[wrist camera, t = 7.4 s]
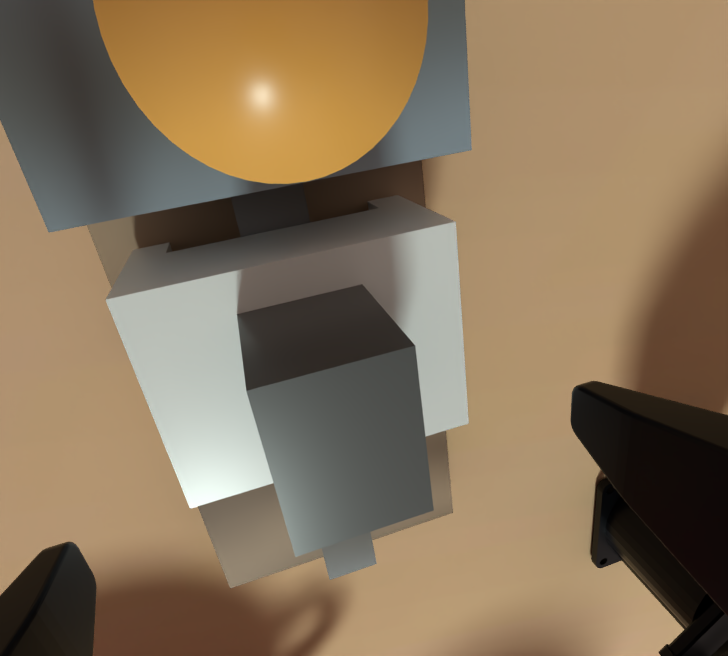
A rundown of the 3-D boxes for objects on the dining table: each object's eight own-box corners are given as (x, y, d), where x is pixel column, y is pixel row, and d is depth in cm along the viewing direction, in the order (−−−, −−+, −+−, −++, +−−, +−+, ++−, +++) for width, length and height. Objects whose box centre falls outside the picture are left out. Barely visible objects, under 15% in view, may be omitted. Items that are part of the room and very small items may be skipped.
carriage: (416, 359, 18) (537, 508, 11) (195, 420, 17) (183, 632, 10) (397, 195, 16) (541, 260, 9) (133, 249, 14) (60, 379, 7)
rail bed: (439, 490, 24) (505, 599, 18) (229, 559, 22) (234, 703, 17) (383, -47, 15) (483, -137, 9) (13, -6, 13) (-129, -89, 7)
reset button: (390, 145, 8) (439, 155, 7) (170, 186, 8) (158, 210, 6) (359, -133, 7) (411, -219, 5) (78, -112, 6) (23, -203, 4)
